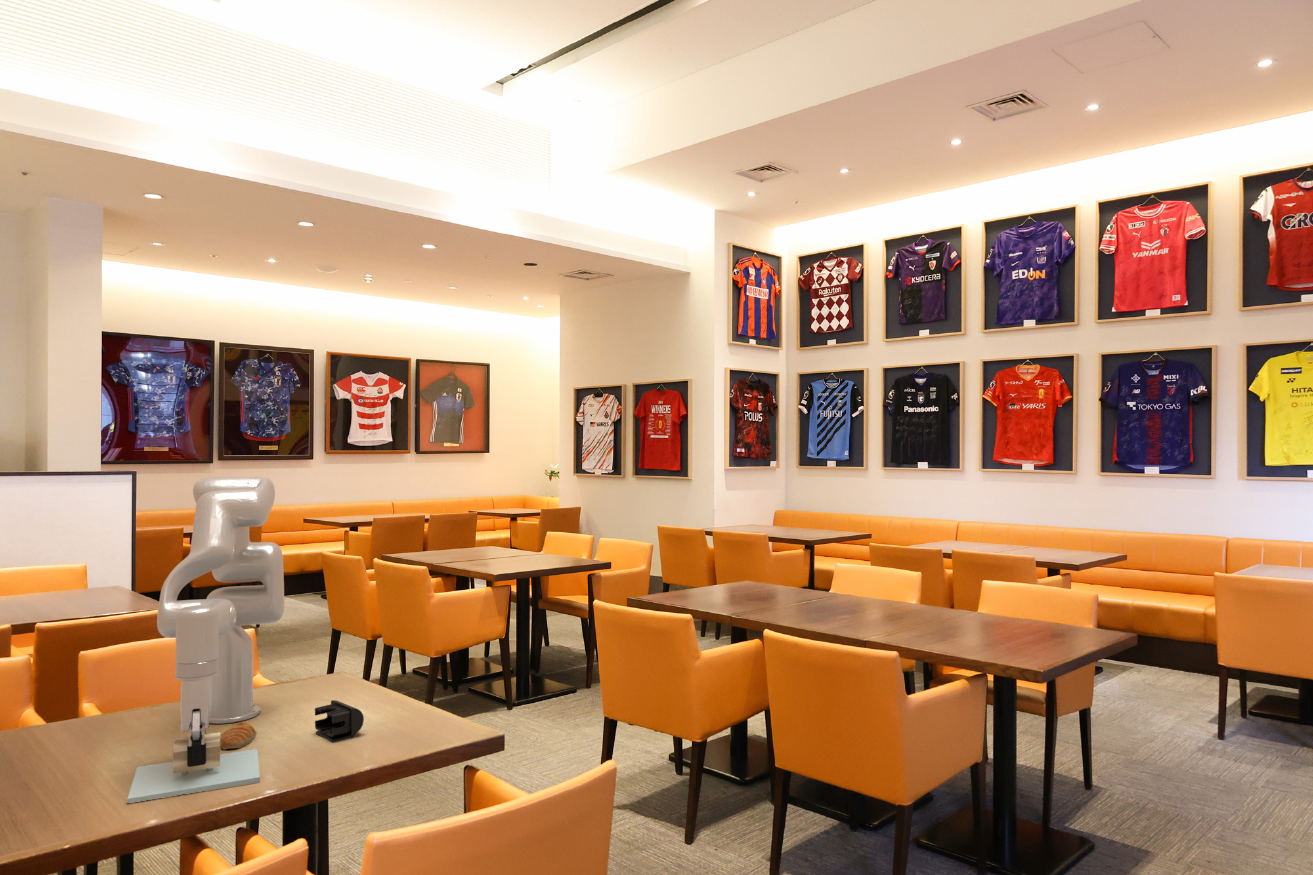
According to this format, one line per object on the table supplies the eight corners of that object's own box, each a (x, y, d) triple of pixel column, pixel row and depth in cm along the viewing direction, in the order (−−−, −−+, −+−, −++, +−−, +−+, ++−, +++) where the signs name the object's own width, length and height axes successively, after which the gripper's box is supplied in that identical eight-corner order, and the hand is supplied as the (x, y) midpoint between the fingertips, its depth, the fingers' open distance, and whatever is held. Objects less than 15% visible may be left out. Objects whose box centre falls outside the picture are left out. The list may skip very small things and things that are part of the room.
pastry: (247, 750, 183) (247, 732, 183) (213, 753, 182) (213, 735, 182) (257, 736, 193) (257, 719, 193) (225, 739, 191) (225, 722, 191)
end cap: (364, 735, 192) (364, 705, 192) (334, 743, 187) (334, 712, 187) (343, 726, 199) (343, 697, 199) (314, 733, 194) (313, 704, 194)
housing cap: (175, 763, 169) (175, 738, 169) (220, 756, 172) (220, 732, 172) (173, 773, 163) (173, 747, 163) (219, 766, 167) (219, 740, 167)
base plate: (137, 771, 171) (137, 754, 171) (257, 753, 181) (257, 737, 181) (127, 804, 155) (127, 785, 155) (259, 782, 165) (259, 764, 165)
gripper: (178, 661, 174) (178, 749, 174) (172, 681, 159) (172, 777, 158) (219, 657, 178) (219, 743, 177) (217, 676, 162) (217, 770, 162)
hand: (197, 758), depth 168 cm, fingers closed on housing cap, 6 cm apart
